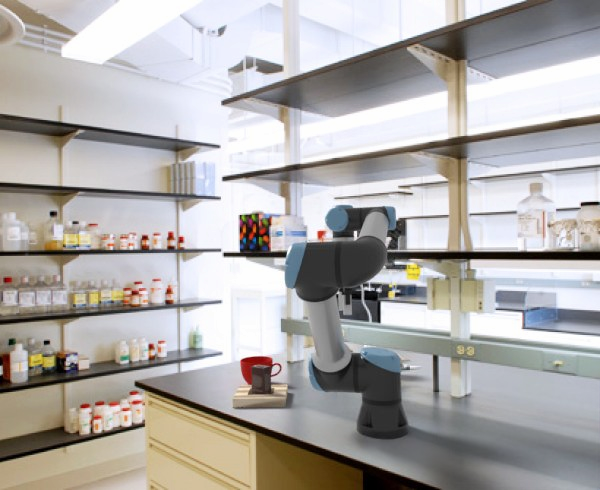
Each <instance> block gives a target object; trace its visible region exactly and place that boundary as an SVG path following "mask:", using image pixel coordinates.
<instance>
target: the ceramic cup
mask: <svg viewBox="0 0 600 490" xmlns="http://www.w3.org/2000/svg"><path fill="white" fill-rule="evenodd" d="M273 362H274V360H273V358H272V357H271V356H263V355H256V356H254V355H253V356H247V357H243V358H241V359H240V362H239V363H240V372H241V376H242V378H243V380H244V381H245V382H246V383H247V385H252V375H251V367H252V366H255V365H264V366H271V378H273V377H276V376H278V375H279V374H280V373H281V372H282V369H283V367H282V365H281V363H279V362H275V363H273ZM275 366H278V368H279V370H278V371H277V372H276V373H274V374H272V372H273V371H272V370H273V368H274V367H275Z"/></svg>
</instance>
